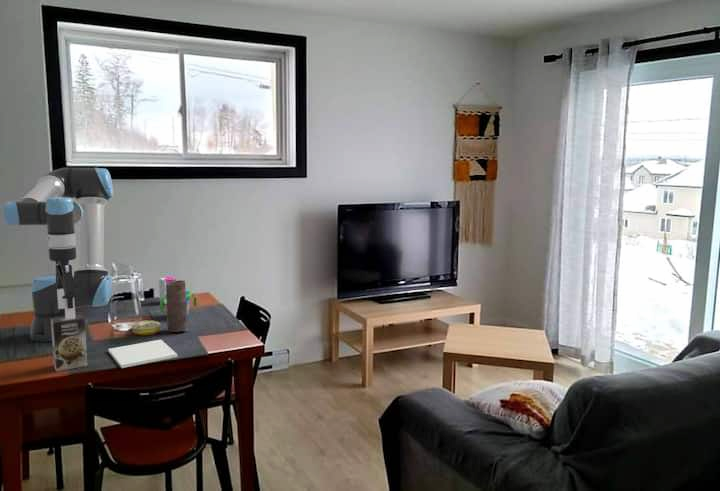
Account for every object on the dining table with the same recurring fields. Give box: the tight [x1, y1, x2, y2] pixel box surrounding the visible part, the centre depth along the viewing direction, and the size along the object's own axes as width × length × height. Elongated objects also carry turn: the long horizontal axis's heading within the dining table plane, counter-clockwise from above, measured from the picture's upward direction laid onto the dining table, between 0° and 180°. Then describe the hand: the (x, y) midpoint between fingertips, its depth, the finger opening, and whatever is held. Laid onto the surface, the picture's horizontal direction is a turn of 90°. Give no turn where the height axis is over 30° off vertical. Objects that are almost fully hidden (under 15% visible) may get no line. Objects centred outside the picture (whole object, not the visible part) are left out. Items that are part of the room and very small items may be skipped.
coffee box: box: [51, 313, 88, 372], centre depth 180 cm, size 9×6×16 cm
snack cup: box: [159, 290, 198, 317], centre depth 236 cm, size 16×10×10 cm
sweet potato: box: [166, 279, 188, 333], centre depth 216 cm, size 8×7×20 cm
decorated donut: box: [131, 320, 162, 336], centre depth 216 cm, size 10×11×4 cm
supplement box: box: [158, 276, 177, 306], centre depth 256 cm, size 6×6×12 cm
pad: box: [107, 339, 178, 369], centre depth 192 cm, size 18×18×1 cm
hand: (66, 313), depth 178 cm, fingers open, 13 cm apart
